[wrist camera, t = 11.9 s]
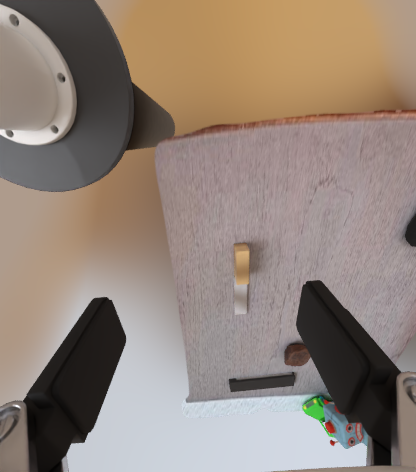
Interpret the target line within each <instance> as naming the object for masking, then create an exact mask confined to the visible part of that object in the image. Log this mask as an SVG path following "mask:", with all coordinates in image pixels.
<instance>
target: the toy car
mask: <svg viewBox="0 0 416 472" xmlns="http://www.w3.org/2000/svg"><path fill="white" fill-rule="evenodd" d="M328 402H329V401H328ZM323 405H325V403H324V398H323V397H322V396H320V397H319V398H314V399H312V400H311V401H309V402H307V403H306V404H304V405H302V406H303V407H302V408H303V410H304V412H305V413H306V414H307V415H309V416H311V417H313V418H315V419H318V420H319V421H320V420H321V421H322V422H325V416H324V410H323ZM321 421H320V423H321V424H322V422H321ZM322 426H323V427H324V425H323V424H322ZM324 429H325V431H326V432H327V434H328V435H329V436H331V437H334V436H333V435H332V434H329V433H328V431H327V430H326V428H325V427H324Z"/></svg>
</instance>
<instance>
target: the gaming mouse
mask: <svg viewBox="0 0 416 472" xmlns="http://www.w3.org/2000/svg"><path fill="white" fill-rule="evenodd" d="M405 238H406V240H407V242H408V243H409V244H410V245H411V246H415V247H416V214H415V216H414V217H413V219H412V220H411V222H410V223H409V225H408V228H407V231H406V234H405Z"/></svg>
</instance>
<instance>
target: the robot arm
mask: <svg viewBox="0 0 416 472" xmlns="http://www.w3.org/2000/svg"><path fill="white" fill-rule="evenodd" d="M64 79H65V81H64ZM76 108H77V97H76V89H75V85H74V81H73V78H72V75H71V72H70V70H69V68H68V65H67V63H66V61H65V59H64V58H63V56H62V54H61V53H60V51H59V49H58V48H57V47H56V46H55V44H54V43H53V42H52V40H51V39H50V38H49V37H48V36H47V35H46V34H45V33H44V32H43V31H42V30H41V29H40V28H39V27H38V26H37V25H35V24H34V23H33V22H31V21H30V20H29V19H27V18H26V17H24V16H23V15H21V14H20V13H18V12H17V11H15V10H13V9H11V8H9V7H6V6H3V5H1V4H0V135H2V136H3V137H5V138H7V139H9V140H12V141H15V142H17V143H21V144H26V145H48V144H51V143H54V142H57V141H58V140H60V139H61V138H63V137H64V136H65V135H66V134H67V133H68V131H69V130H70V128H71V126H72V124H73V123H74V119H75V115H76ZM58 130H59V131H58ZM296 326H297V330H298V332H299V334H300V336H301V338H302V340H303V342H304V344H305V346H306V348H307V350H308V352H309V354H310V356H311V358H312V360H313V362H314V364H315V366H316V368H317V370H318V372H319V374H320V376H321V378H322V380H323V382H324V384H325V386H326V388H327V390H328V392H329V394H330V396H331V398H332V400H333V402H334V404H335V406H336V407H337V409H338V411H339V412H340V413H341V414H344V415H345V417H346V419H347V421H348V423H361V424H362V426H363V428H364V429H365V431H366V433H367V435H368V441H367V458H366V466H363V467H339V468H338V467H337V468H319V469H305V470H288V471H273V472H416V373H415V372H402V373H401V371H400V370H399V369H398V368H397V367H396V366H395V364H394V363H393V362H392V361H391V360H390V359H389V358H388V356H387V355H386V354H385V353H384V352H383V351H382V349H381V348H380V347H379V346H378V345H377V344H376V342H375V341H374V340H373V339H372V338H371V337H370V335H369V334H368V333H367V332H366V331H365V330H364V328H363V327H362V326H361V325H360V324H359V323H358V322H357V320H356V319H355V318H354V317H353V316H352V315H351V313H350V312H349V311H348V310H347V309H345V308H344V307H343V306H342V305H341V304H340V302H339V301H338V300H337V299H336V298H335V296H334V295H333V294H332V293H331V292H330V291H329V289H328V288H327V287H326V286H325V285H324V284H323V282H322V281H320V280H317V281H307V282H306V284H305V285H303V287H302V292H301V298H300V304H299V310H298V315H297V321H296ZM125 343H126V335H125V333H124V330H123V328H122V325H121V322H120V320H119V317H118V315H117V312H116V310H115V307H114V304H113V302H112V300H109V299H108V298H107V297H101V298H94V299H93V300H92V301H91V302H90V304H89V305H88V307H87V308H86V309H85V311H84V312H83V314H82V315H81V317H80V318H79V320H78V321H77V323H76V324H75V325H74V327H73V328H72V330H71V331H70V332H69V334H68V335H67V337H66V338H65V340H64V341H63V343H62V344H61V346H60V347H59V348H58V350H57V351H56V353H55V354H54V356H53V357H52V358H51V360H50V362H49V363H48V365H47V366H46V367H45V369H44V370H43V371H42V373H41V374H40V376H39V377H38V379H37V380H36V382H35V383H34V384H33V386H32V387H31V389H30V390H29V392H28V393H27V396H26V398H25V399H24V400H23V402H22V401H12V402H9V403H6V404H5V405H3V406H1V407H0V472H69V470H68V463H67V456H66V454H67V452H68V449H69V447H70V445H71V443H84V442H85V440H86V437H87V435H88V433H89V432H91V430H92V429H93V428H94V425H95V423H96V420H97V418H98V415H99V412H100V410H101V407H102V404H103V402H104V399H105V396H106V394H107V391H108V389H109V386H110V383H111V381H112V378H113V375H114V373H115V370H116V367H117V365H118V362H119V359H120V357H121V354H122V352H123V349H124V346H125Z"/></svg>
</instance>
